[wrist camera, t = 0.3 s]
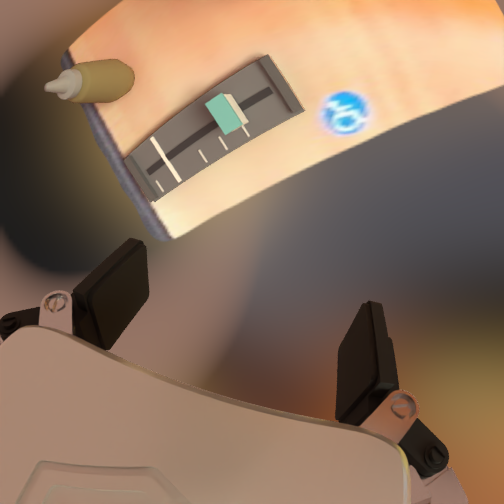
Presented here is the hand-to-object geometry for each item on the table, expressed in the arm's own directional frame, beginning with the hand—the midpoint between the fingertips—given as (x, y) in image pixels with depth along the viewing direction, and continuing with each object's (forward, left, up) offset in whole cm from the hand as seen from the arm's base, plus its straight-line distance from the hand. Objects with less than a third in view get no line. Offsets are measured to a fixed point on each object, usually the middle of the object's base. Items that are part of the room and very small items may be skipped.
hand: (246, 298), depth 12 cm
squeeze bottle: (-28, -19, -35) cm, 49 cm away
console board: (-10, -11, -35) cm, 38 cm away
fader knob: (-10, -5, -33) cm, 34 cm away
